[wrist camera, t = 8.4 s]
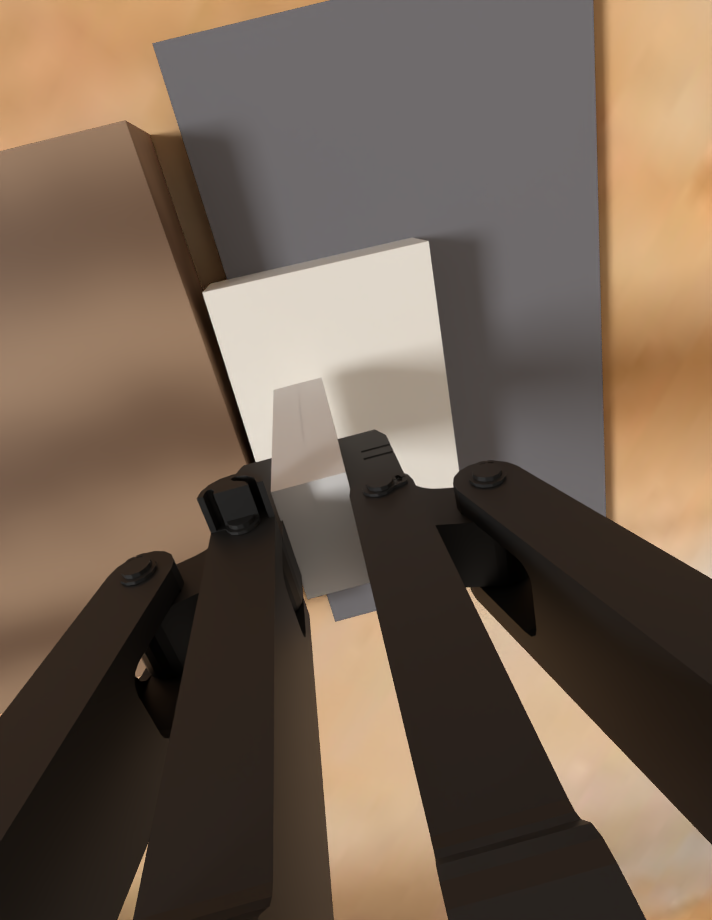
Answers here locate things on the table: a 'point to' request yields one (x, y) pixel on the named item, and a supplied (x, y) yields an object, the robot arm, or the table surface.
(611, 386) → the table surface
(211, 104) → the mat
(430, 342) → the slab
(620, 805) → the table surface
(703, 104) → the table surface
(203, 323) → the board
